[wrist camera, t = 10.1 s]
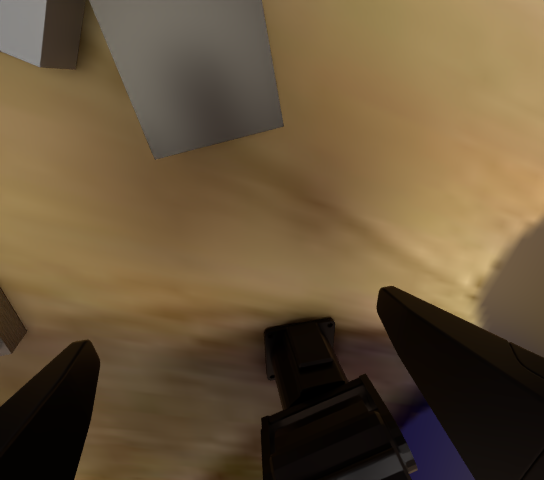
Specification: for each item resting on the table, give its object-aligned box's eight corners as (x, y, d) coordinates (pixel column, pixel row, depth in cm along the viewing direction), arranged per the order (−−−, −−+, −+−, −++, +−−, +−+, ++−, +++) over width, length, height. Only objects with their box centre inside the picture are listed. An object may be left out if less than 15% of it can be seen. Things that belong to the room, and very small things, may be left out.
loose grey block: (264, 115, 18) (283, 126, 14) (166, 139, 17) (154, 159, 13) (227, -66, 14) (238, -130, 10) (99, -40, 13) (49, -95, 9)
